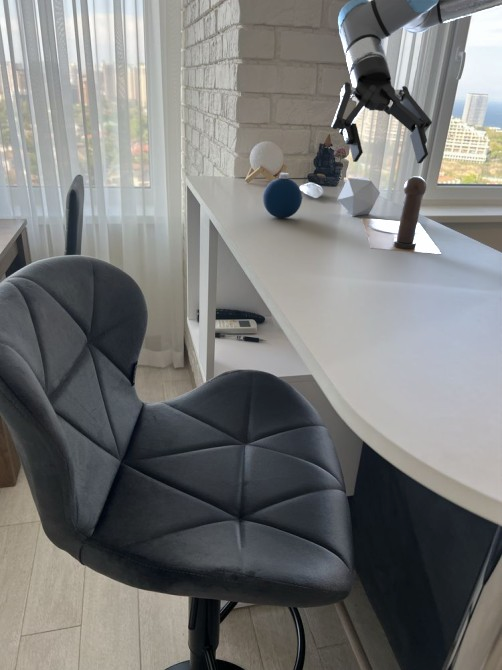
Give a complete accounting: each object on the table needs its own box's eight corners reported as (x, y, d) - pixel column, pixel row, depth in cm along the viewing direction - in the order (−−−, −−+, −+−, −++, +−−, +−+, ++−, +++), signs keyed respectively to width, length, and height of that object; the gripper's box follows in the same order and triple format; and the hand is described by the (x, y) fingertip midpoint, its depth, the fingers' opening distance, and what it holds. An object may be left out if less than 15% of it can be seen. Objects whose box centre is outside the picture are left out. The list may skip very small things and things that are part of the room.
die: (379, 222, 114) (391, 182, 116) (352, 203, 110) (365, 162, 111) (352, 227, 122) (364, 189, 123) (326, 209, 117) (338, 171, 118)
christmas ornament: (308, 219, 110) (312, 172, 106) (279, 224, 105) (283, 174, 101) (282, 211, 116) (285, 166, 112) (254, 215, 111) (256, 168, 107)
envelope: (418, 224, 112) (419, 221, 111) (441, 256, 90) (442, 253, 90) (361, 219, 113) (361, 217, 113) (370, 250, 91) (371, 247, 91)
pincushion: (327, 200, 130) (329, 178, 128) (303, 199, 130) (306, 177, 127) (316, 191, 141) (319, 170, 138) (295, 191, 140) (297, 169, 138)
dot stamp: (413, 244, 95) (426, 175, 89) (416, 250, 91) (431, 179, 86) (391, 242, 95) (403, 174, 90) (394, 248, 92) (407, 177, 86)
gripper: (414, 87, 108) (438, 171, 102) (304, 80, 103) (322, 169, 96) (433, 58, 101) (459, 146, 95) (316, 49, 96) (337, 142, 89)
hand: (391, 158), depth 96 cm, fingers open, 13 cm apart
